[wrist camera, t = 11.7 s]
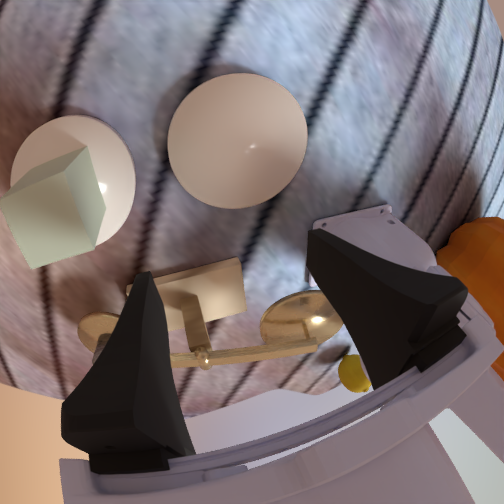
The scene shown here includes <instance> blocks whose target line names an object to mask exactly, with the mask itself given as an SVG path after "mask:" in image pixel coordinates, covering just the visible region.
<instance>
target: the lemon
mask: <svg viewBox="0 0 504 504" xmlns="http://www.w3.org/2000/svg"><path fill="white" fill-rule="evenodd" d="M338 374H339V378H340V380H341V382H342V384H343V385H344V386H345V387H346V388H347V389H348V390H350V391H352V392H357V393H358V392H367V391H368V390H369V387H370V386H371V382H370V381H369V380H368V378H367V377H366V375H365V373H364V371H363V369H362V366H361V362H360V355H344V356H343V360H342V361H341V362H340V364H339V367H338Z"/></svg>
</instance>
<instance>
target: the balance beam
mask: <svg viewBox="0 0 504 504" xmlns="http://www.w3.org/2000/svg"><path fill="white" fill-rule="evenodd" d="M119 317H120V315H118V314H114V313H109V312H93V313H89V314H87V315H85V316H84V317H83V318H82V319H81V321H80V323H79V326H78V331H77V332H78V336H79V338H80V340H81V342H82V343H83V344H84V345H85V347H87V348H88V349H89V350H90V351H91V352H93V353H94V356H93V360H92V363H93V364H94V363H95V361H96V360H97V358H98V357H99V355H100V354H101V352H102V350H103V349H104V347H105V345H106V343H107V341H108V340H109V338H110V336H111V334H112V332H113V330H114V328H115V326H116V323H117V321H118V319H119ZM343 324H344V323H343V321H342V319H341V318H340V316H339V315H338V313H337V312H336V311H335V309H334V308H333V306H332V305H331V304H330V302H329V301H328V299H327V298H326V297H325V295H324V294H323V293H322V291H321V290H307V291H301V292H297V293H293V294H291V295H288V296H286V297H284V298H282V299H280V300H278V301H277V302H275V303H274V304H272V305H271V306H270V307H269V308H268V309H267V310H266V311H265V313H264V314H263V316H262V318H261V320H260V332H261V337H262V339H263V340H264V342H265V343H266V344H268V345H260V346H253V347H244V348H235V349H226V350H215V351H207V349H206V348H204V347H199V348H197V349H196V350H195V352H190V353H173V354H170V359H171V368H180V367H197V366H200V368H201V369H203V370H208V369H210V368H211V367H212V365H223V364H233V363H242V362H251V361H259V360H267V359H274V358H280V357H287V356H293V355H299V354H305V353H310V352H316V351H317V347H318V345H319V344H321V343H323V342H325V341H326V340H328V339H330V338H331V337H332V336H334V335H335V334H336V333H337V332H338V331H339V330H340V328H341V327H342V326H343Z"/></svg>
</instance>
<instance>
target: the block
mask: <svg viewBox="0 0 504 504" xmlns="http://www.w3.org/2000/svg"><path fill="white" fill-rule="evenodd" d="M0 208H1V210H2V212H3V215H4V217H5V219H6V221H7V224H8V226H9V228H10V230H11V232H12V234H13V236H14V238H15V240H16V242H17V244H18V246H19V248H20V250H21V252H22V254H23V256H24V257H25V259H26V261H27V263H28V265H29V266H30V268H31V269H34V268H37V267H40V266H44V265H47V264H50V263H53V262H56V261H59V260H62V259H66V258H69V257H72V256H75V255H79V254H82V253H85V252H89V251H92V250H94V249H95V245H96V241H97V238H98V234H99V231H100V227H101V224H102V221H103V217H104V214H105V211H106V205H105V202H104V199H103V196H102V193H101V190H100V187H99V184H98V181H97V178H96V174H95V171H94V168H93V164H92V161H91V157H90V153H89V150H88V146H86V147H83V148H81V149H78V150H75V151H72V152H70V153H67V154H65V155H62V156H60V157H57V158H55V159H52V160H50V161H48V162H45V163H43V164H41V165H39V166H36V167H34V168H32V169H30V170H29V171H28V172H27V173H26V174H25V175H24V176H23V177H22V178H21V179H19V180H18V181H17V182H16V183H15V184H14V185H13V186H12V187H11V188H10V189H9V190H8V191H7V192H6V193H5V194H4V195H3V196H2V197H1V198H0Z"/></svg>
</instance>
